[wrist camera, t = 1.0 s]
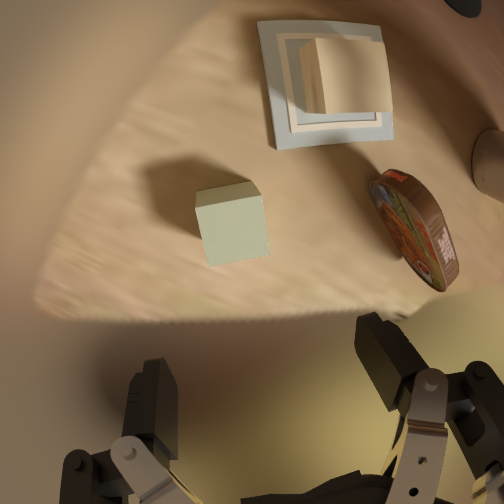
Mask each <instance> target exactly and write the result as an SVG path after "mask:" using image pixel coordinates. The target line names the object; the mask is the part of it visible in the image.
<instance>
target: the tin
mask: <svg viewBox="0 0 504 504" xmlns="http://www.w3.org/2000/svg"><path fill="white" fill-rule="evenodd" d="M369 192H370V195H371V198H372V200H373V202H374V204H375V206H376V208H377V210H378V211H379V213H380V215H381V217H382V218H383V220H384V222H385V224H386V226H387V227H388V229H389V231H390V233H391V235H392V237H393V239H394V241H395V243H396V245H397V247H398V249H399V251H400V252H401V254H402V256H403V257H404V258H405V260H406V261H407V263H408V264H409V265H410V267H411V268H412V269H413V270H414V271H415V272H416V274H417V275H418V276H419V277H420V278H421V279H422V280H423V281H424V282H425V283H427V284H428V285H429V286H430V287H431V288H433V289H435V290H436V291H438V292H444V291H446V289H447V287H448V286H449V285H450V284H451V283H452V282H453V281H454V280H455V278H456V277H457V276H458V274H459V264H458V260H457V256H456V253H455V249H454V246H453V243H452V240H451V236H450V233H449V230H448V228H447V224H446V222H445V219H444V216H443V213H442V211H441V209H440V207H439V205H438V203H437V201H436V200H435V198H434V197H433V195H432V194H431V193H430V192H429V190H428V189H427V188H426V187H425V186H424V185H423V184H422V183H421V182H420V181H419V180H417V179H416V178H415V177H413V176H412V175H410V174H407V173H404V172H402V171H399V170H396V169H388V170H387V171H385V172H384V173H383V174H382V175H381V176H379V177H378V178H377V179H376V180H375V181H372V182H371V183H370V185H369Z"/></svg>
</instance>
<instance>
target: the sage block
mask: <svg viewBox="0 0 504 504" xmlns="http://www.w3.org/2000/svg"><path fill="white" fill-rule="evenodd" d="M195 211H196V215H197V220H198V224H199V228H200V233H201V237H202V241H203V246H204V250H205V254H206V258H207V262H208V266H209V267H211V266H216V265H221V264H226V263H231V262H236V261H241V260H246V259H251V258H256V257H261V256H266V255H270V251H269V243H268V236H267V228H266V221H265V214H264V206H263V199H262V195H261V193H260V192H259V190H258V189H257V187H256V186H255V184H254V183H253V181H249V182H243V183H238V184H232V185H227V186H222V187H217V188H211V189H206V190H202V191H197V194H196V203H195Z"/></svg>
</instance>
